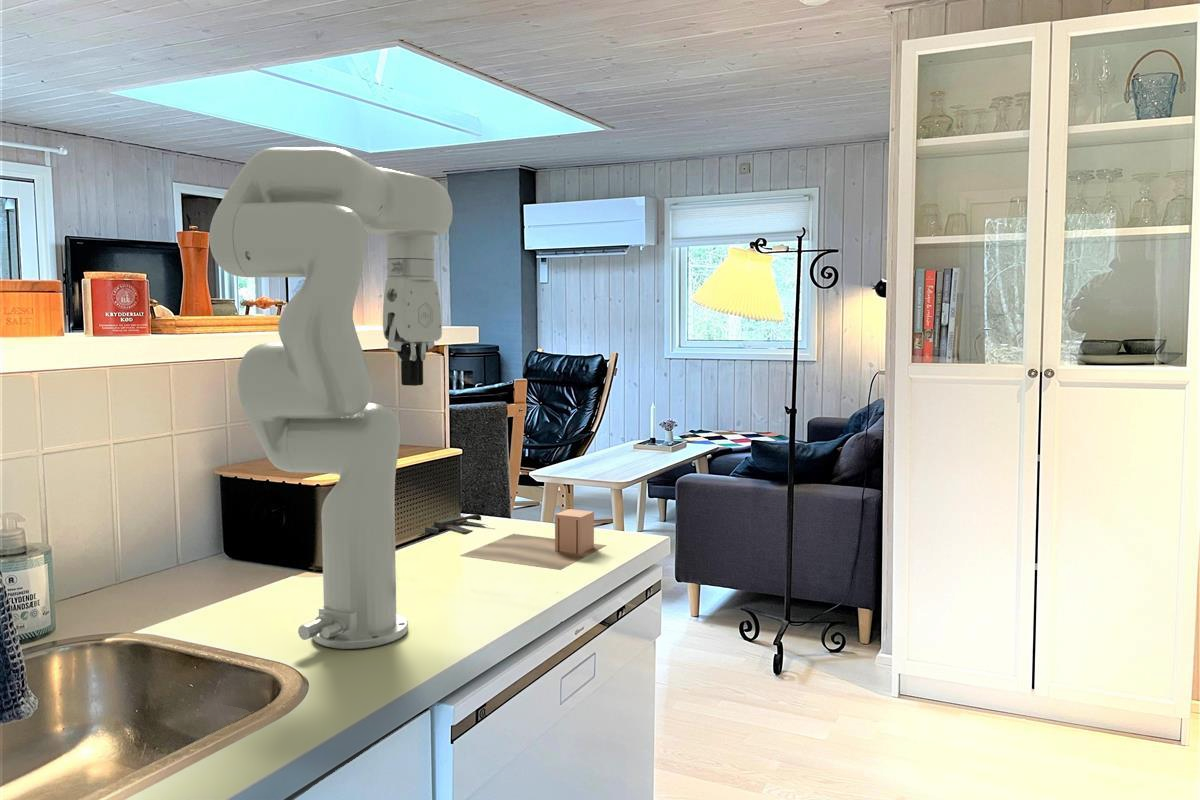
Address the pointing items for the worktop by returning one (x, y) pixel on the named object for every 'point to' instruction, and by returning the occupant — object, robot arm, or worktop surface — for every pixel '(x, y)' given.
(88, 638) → the worktop surface
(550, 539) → the board
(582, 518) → the salmon pink block
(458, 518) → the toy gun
